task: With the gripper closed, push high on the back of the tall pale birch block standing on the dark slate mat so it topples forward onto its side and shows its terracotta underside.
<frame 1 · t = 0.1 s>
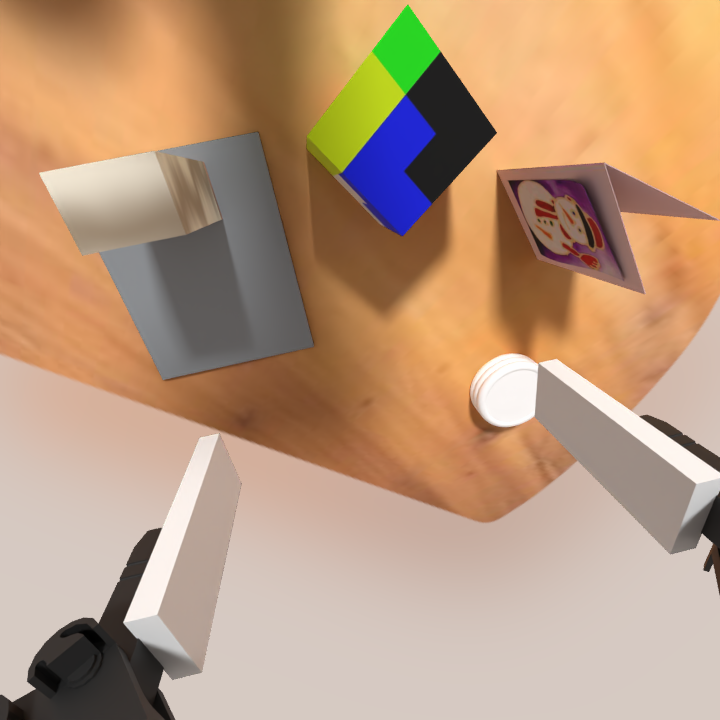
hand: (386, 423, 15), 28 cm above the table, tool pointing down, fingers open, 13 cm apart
birch block: (177, 198, 34), resting on slate mat
slate mat: (205, 270, 37), on the table
puzzle toy: (378, 147, 35), on the table
greeting card: (539, 200, 39), on the table
white round disc stack: (502, 383, 50), on the table
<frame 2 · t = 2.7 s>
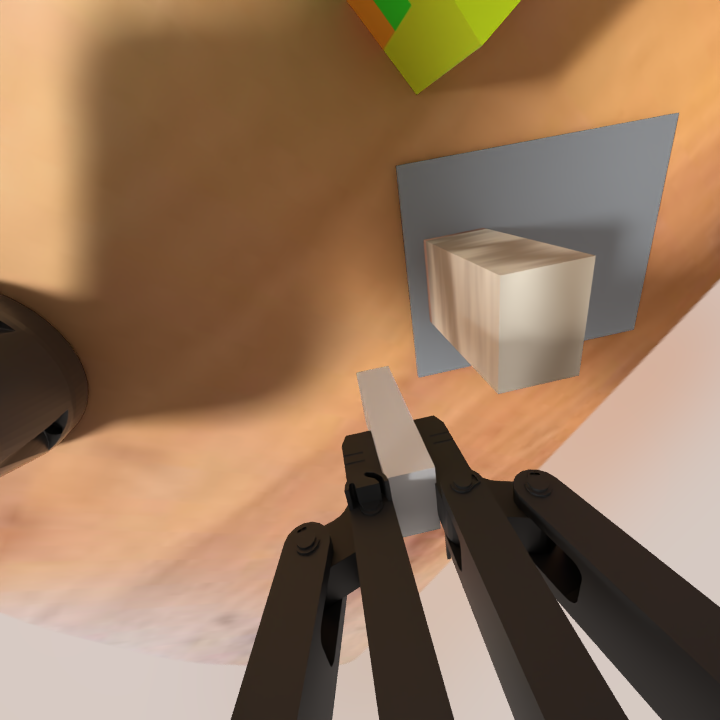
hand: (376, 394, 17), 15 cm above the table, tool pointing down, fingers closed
birch block: (455, 276, 30), resting on slate mat
slate mat: (531, 259, 31), on the table
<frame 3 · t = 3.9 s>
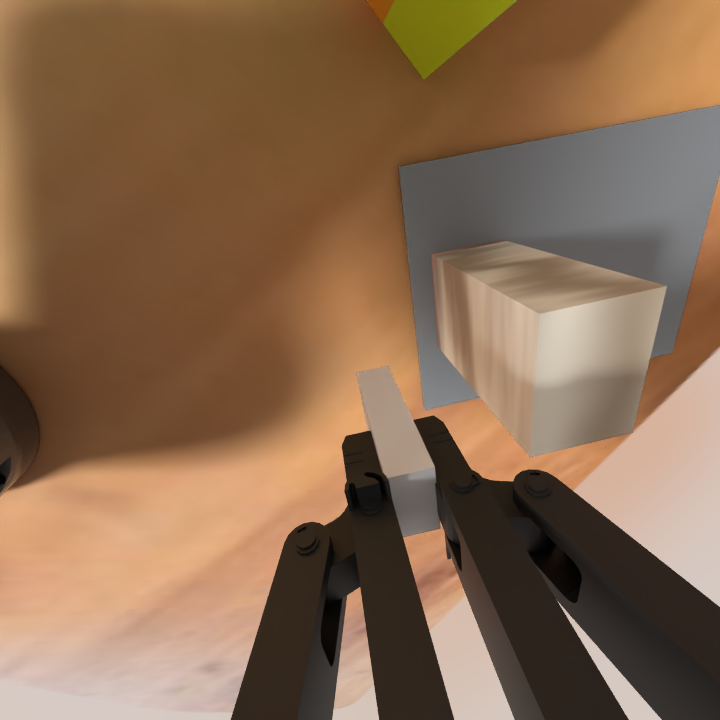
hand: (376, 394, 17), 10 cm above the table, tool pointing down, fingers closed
birch block: (468, 296, 26), resting on slate mat
slate mat: (557, 275, 26), on the table
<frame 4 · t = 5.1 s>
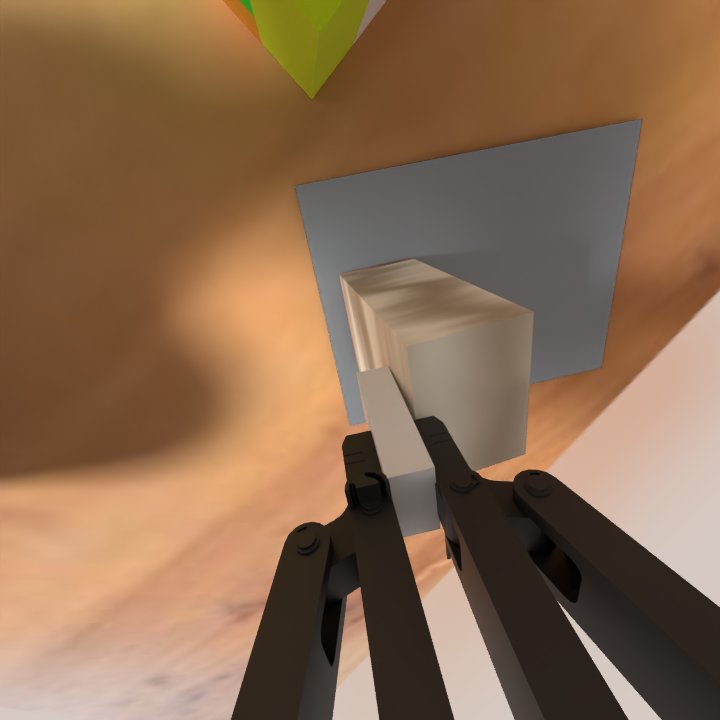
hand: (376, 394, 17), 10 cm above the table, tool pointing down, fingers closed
birch block: (382, 314, 25), point 1 cm above the table, tilted 6°, touching gripper, slate mat
slate mat: (473, 291, 26), on the table
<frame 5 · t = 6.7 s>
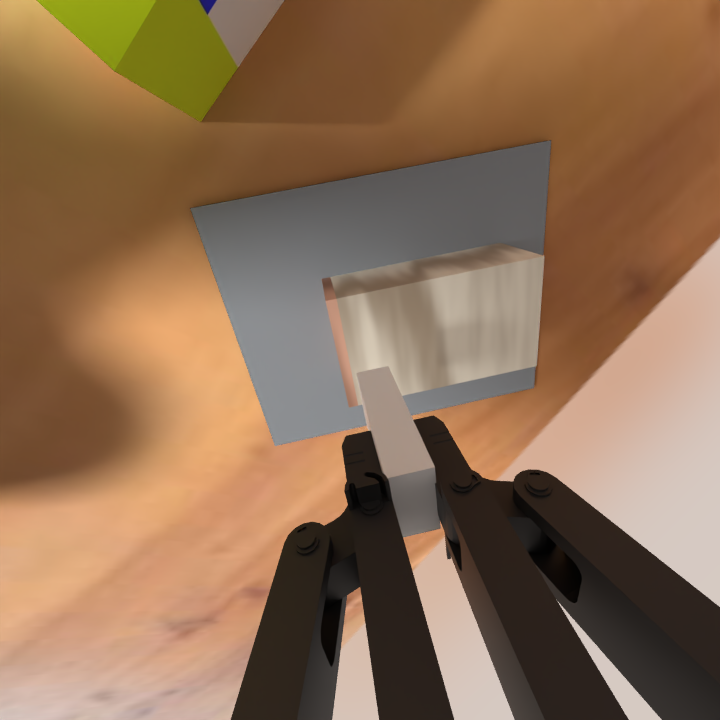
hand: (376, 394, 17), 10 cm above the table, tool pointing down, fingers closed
birch block: (334, 341, 23), point 3 cm above the table, tilted 90°, touching slate mat
slate mat: (392, 312, 26), on the table
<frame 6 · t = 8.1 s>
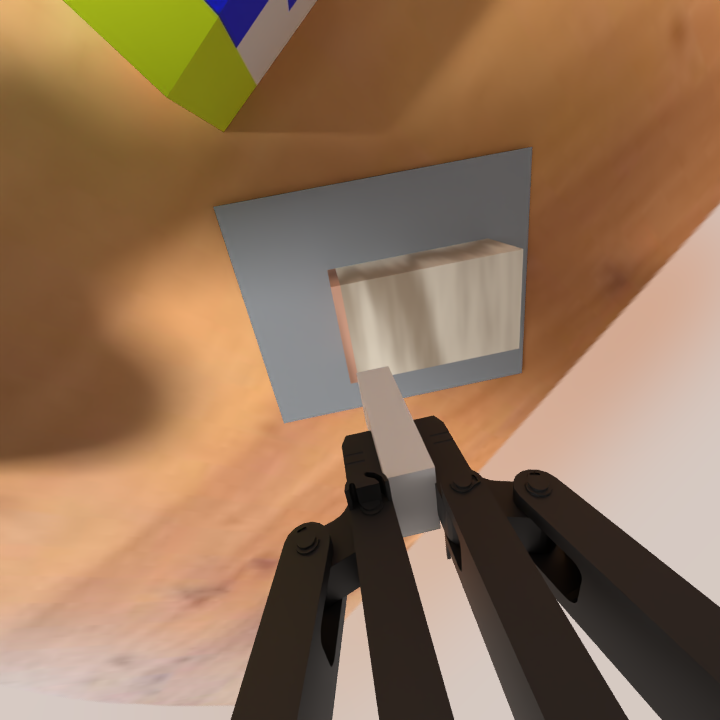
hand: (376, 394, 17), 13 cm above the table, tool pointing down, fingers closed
birch block: (338, 325, 26), point 3 cm above the table, tilted 90°, touching slate mat
slate mat: (390, 301, 28), on the table
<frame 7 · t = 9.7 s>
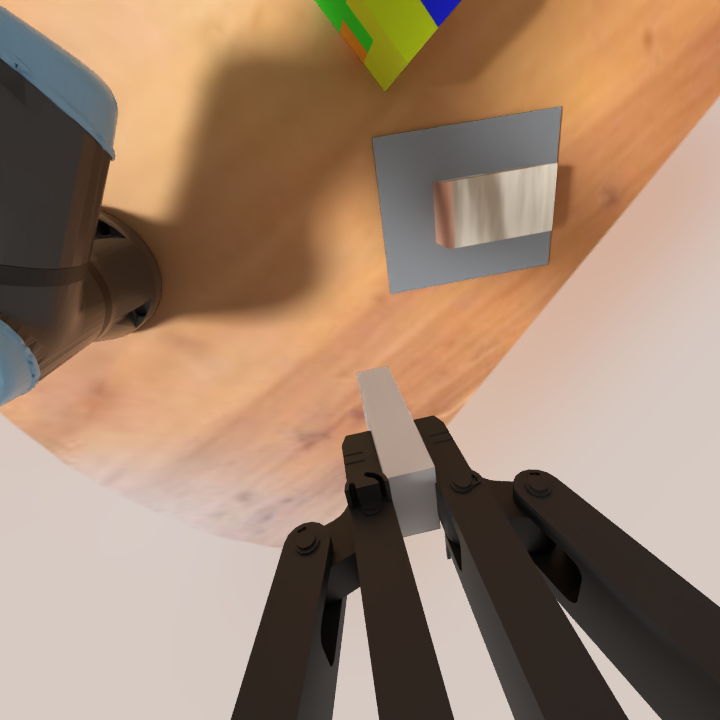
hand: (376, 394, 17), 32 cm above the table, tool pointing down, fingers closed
birch block: (441, 215, 42), point 3 cm above the table, tilted 90°, touching slate mat
slate mat: (468, 207, 45), on the table
puzzle toy: (386, 4, 35), on the table
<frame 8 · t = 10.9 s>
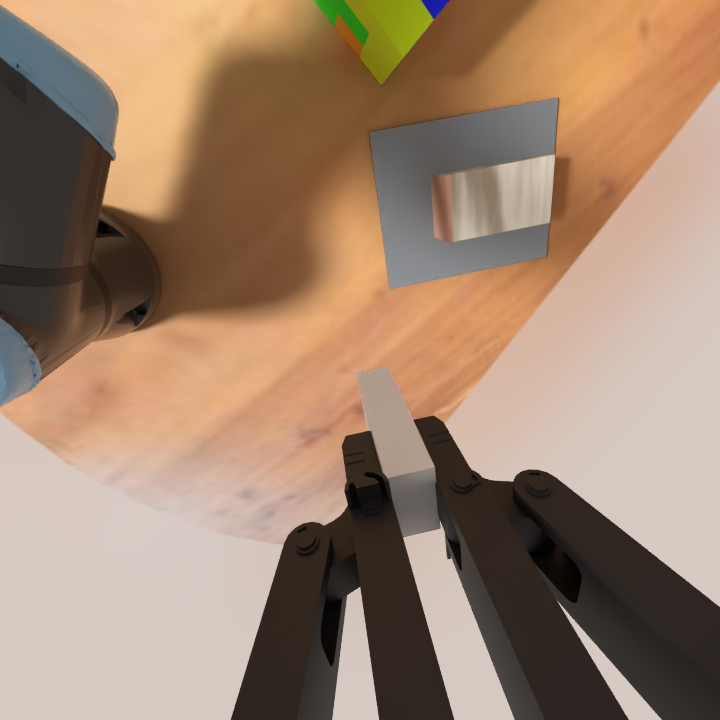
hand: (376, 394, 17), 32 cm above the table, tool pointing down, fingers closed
birch block: (439, 209, 42), point 3 cm above the table, tilted 90°, touching slate mat
slate mat: (466, 200, 45), on the table
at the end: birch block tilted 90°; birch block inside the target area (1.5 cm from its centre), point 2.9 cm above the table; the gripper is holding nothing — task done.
